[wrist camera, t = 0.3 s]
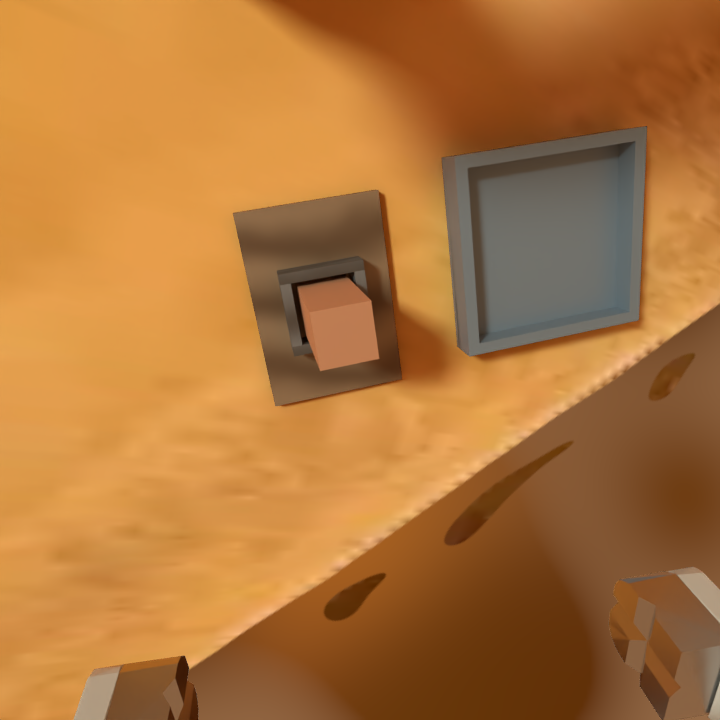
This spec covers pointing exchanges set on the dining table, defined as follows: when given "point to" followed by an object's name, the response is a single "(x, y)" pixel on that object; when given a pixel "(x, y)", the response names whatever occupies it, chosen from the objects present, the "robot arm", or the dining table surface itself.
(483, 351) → the tray
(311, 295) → the terracotta block
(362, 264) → the holder
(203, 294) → the dining table surface
